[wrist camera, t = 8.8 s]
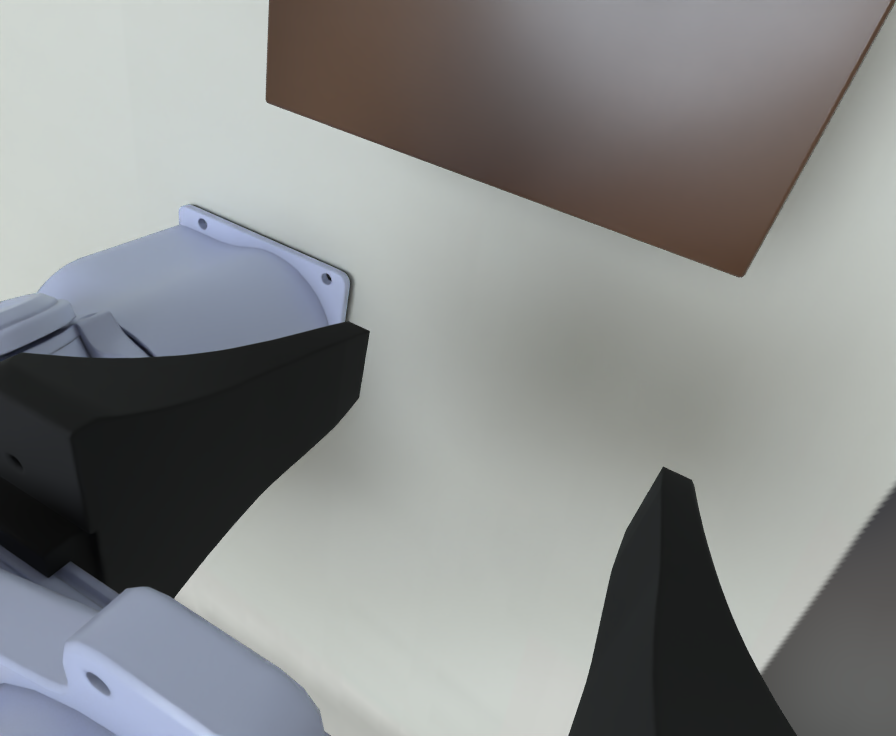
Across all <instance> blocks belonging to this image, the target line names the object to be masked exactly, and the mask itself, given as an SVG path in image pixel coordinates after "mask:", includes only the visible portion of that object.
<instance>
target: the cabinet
mask: <svg viewBox="0 0 896 736" xmlns="http://www.w3.org/2000/svg"><path fill="white" fill-rule="evenodd" d="M895 2H896V0H269V18H268V46H267V74H266V102H267V103H269V104H272V105H274V106H277V107H280V108H283V109H285V110H288V111H291V112H293V113H296V114H299V115H301V116H304V117H307V118H310V119H312V120H315V121H318V122H320V123H323V124H326V125H328V126H331V127H334V128H337V129H339V130H342V131H345V132H347V133H350V134H353V135H355V136H358V137H361V138H364V139H366V140H369V141H372V142H374V143H377V144H380V145H382V146H385V147H388V148H391V149H393V150H396V151H399V152H401V153H404V154H407V155H409V156H412V157H415V158H418V159H420V160H423V161H426V162H428V163H431V164H434V165H436V166H439V167H442V168H445V169H447V170H450V171H453V172H455V173H458V174H461V175H463V176H466V177H469V178H472V179H474V180H477V181H480V182H482V183H485V184H488V185H490V186H493V187H496V188H499V189H501V190H504V191H507V192H509V193H512V194H515V195H518V196H520V197H523V198H526V199H528V200H531V201H534V202H536V203H539V204H542V205H545V206H547V207H550V208H553V209H555V210H558V211H561V212H563V213H566V214H569V215H572V216H574V217H577V218H580V219H582V220H585V221H588V222H590V223H593V224H596V225H599V226H601V227H604V228H607V229H609V230H612V231H615V232H617V233H620V234H623V235H626V236H628V237H631V238H634V239H636V240H639V241H642V242H644V243H647V244H650V245H653V246H655V247H658V248H661V249H663V250H666V251H669V252H671V253H674V254H677V255H680V256H682V257H685V258H688V259H690V260H693V261H696V262H698V263H701V264H704V265H707V266H709V267H712V268H715V269H717V270H720V271H723V272H725V273H728V274H731V275H734V276H736V277H743V276H744V275H745V274H746V272H747V270H748V269H749V267H750V265H751V263H752V261H753V259H754V258H755V256H756V254H757V252H758V250H759V249H760V247H761V245H762V243H763V241H764V240H765V238H766V236H767V234H768V232H769V230H770V229H771V227H772V225H773V223H774V221H775V220H776V218H777V216H778V214H779V212H780V211H781V209H782V207H783V205H784V203H785V202H786V200H787V198H788V196H789V194H790V192H791V191H792V189H793V187H794V185H795V183H796V182H797V180H798V178H799V176H800V174H801V173H802V171H803V169H804V167H805V165H806V164H807V162H808V160H809V158H810V156H811V154H812V153H813V151H814V149H815V147H816V145H817V144H818V142H819V140H820V138H821V136H822V135H823V133H824V131H825V129H826V127H827V125H828V124H829V122H830V120H831V118H832V116H833V115H834V113H835V111H836V109H837V107H838V106H839V104H840V102H841V100H842V98H843V97H844V95H845V93H846V91H847V89H848V87H849V86H850V84H851V82H852V80H853V78H854V77H855V75H856V73H857V71H858V69H859V68H860V66H861V64H862V62H863V60H864V59H865V57H866V55H867V53H868V51H869V49H870V48H871V46H872V44H873V42H874V40H875V39H876V37H877V35H878V33H879V31H880V30H881V28H882V26H883V24H884V22H885V20H886V19H887V17H888V15H889V13H890V11H891V10H892V8H893V6H894V4H895Z"/></svg>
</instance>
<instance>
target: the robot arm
mask: <svg viewBox="0 0 896 736" xmlns="http://www.w3.org/2000/svg"><path fill="white" fill-rule="evenodd" d="M205 221H206V223H207V225H206V223H205ZM327 274H328V275H329V276H330V277H331V281H332V282H331V281H330V280H329V279H328V278H327ZM349 288H350V280H349V278H348V276H347V275H346V273H344V272H343V271H341V270H339V269H337V268H334V267H332V266H330V265H328V264H325V263H323V262H321V261H318V260H316V259H314V258H312V257H309V256H307V255H305V254H303V253H300V252H298V251H296V250H293V249H291V248H289V247H287V246H284V245H282V244H280V243H277V242H275V241H273V240H271V239H268V238H266V237H264V236H261V235H259V234H257V233H255V232H252V231H250V230H248V229H246V228H243V227H241V226H239V225H236V224H234V223H232V222H230V221H227V220H225V219H223V218H220V217H218V216H216V215H214V214H211V213H209V212H207V211H204V210H202V209H200V208H198V207H195V206H193V205H190V204H187V205H184V206H181V207H180V209H179V225H177V226H174V227H171V228H168V229H165V230H162V231H159V232H156V233H153V234H150V235H147V236H144V237H141V238H138V239H135V240H133V241H130V242H127V243H124V244H121V245H118V246H115V247H112V248H109V249H106V250H103V251H100V252H97V253H94V254H91V255H88V256H85V257H82V258H79V259H77V260H75V261H73V262H71V263H69V264H67V265H65V266H64V267H62V268H61V269H59V270H58V271H57V272H56V273H54V274H53V275H52V276H51V277H50V278H49V279H48V280H47V281H46V282H45V283H44V284H43V285H42V287H41V288H40V289H39V290H38V292H37V293H34V294H28V295H24V296H19V297H15V298H12V299H8V300H4V301H1V302H0V736H331V735H329V734H328V733H326V732H325V731H324V727H323V723H322V718H321V713H320V710H319V709H318V707H317V706H316V704H315V703H314V702H313V700H312V699H311V697H310V696H309V695H308V693H307V692H306V691H305V689H304V688H303V687H302V686H301V685H299V684H298V683H297V682H296V681H295V680H293V679H292V678H291V677H290V676H289V675H287V674H286V673H285V672H284V671H283V670H281V669H280V668H279V667H277V666H276V665H274V664H273V663H271V662H270V661H268V660H266V659H265V658H263V657H262V656H260V655H259V654H257V653H256V652H254V651H253V650H251V649H250V648H248V647H247V646H245V645H243V644H242V643H240V642H239V641H237V640H236V639H234V638H233V637H231V636H230V635H228V634H227V633H225V632H224V631H222V630H220V629H219V628H217V627H216V626H214V625H213V624H211V623H210V622H208V621H207V620H205V619H204V618H202V617H201V616H199V615H197V614H196V613H194V612H193V611H191V610H190V609H188V608H187V607H185V606H184V605H182V604H181V603H179V602H178V601H176V600H174V598H175V596H176V595H177V594H178V592H179V591H180V590H181V588H182V587H183V586H184V585H185V583H186V582H187V581H188V580H189V578H190V577H191V576H192V575H193V573H194V572H195V571H196V570H197V568H198V567H199V566H200V565H201V563H202V562H203V561H204V559H205V558H206V557H207V556H208V555H209V553H210V552H211V551H212V550H213V549H214V547H215V546H216V545H217V544H218V543H219V542H220V540H221V539H222V538H223V537H224V536H225V534H226V533H227V532H228V531H229V530H230V529H231V527H232V526H233V525H234V524H235V523H236V522H237V521H238V519H239V518H240V517H241V516H242V515H243V514H244V513H245V512H246V510H247V509H248V508H249V507H250V506H251V505H252V504H253V503H254V502H255V500H256V499H257V498H258V497H259V496H260V495H261V494H262V493H263V492H264V491H265V490H266V489H267V488H268V487H269V486H270V485H271V484H272V483H273V482H274V481H276V480H277V479H278V478H279V477H280V476H281V475H282V474H283V473H284V472H286V471H287V470H288V469H289V468H290V467H291V466H292V465H293V464H295V463H296V462H297V461H298V460H299V459H300V458H301V457H302V456H303V455H305V454H306V453H307V452H308V451H309V450H310V449H311V448H312V447H314V446H315V445H316V444H317V443H318V442H319V441H320V440H321V439H322V438H323V437H324V436H326V435H327V434H328V433H329V432H330V431H331V430H332V429H333V428H334V427H335V426H336V425H337V424H338V423H339V421H340V420H341V419H342V418H343V417H344V416H345V414H346V413H347V412H348V411H349V410H350V408H351V407H352V406H353V405H354V403H355V402H356V401H357V400H358V398H359V394H360V388H361V382H362V376H363V370H364V364H365V357H366V351H367V345H368V339H369V333H370V331H368V330H366V329H364V328H362V327H359V326H357V325H355V324H353V323H351V322H349V321H348V322H345V318H346V311H347V303H348V296H349ZM568 736H797V735H796V733H795V732H794V730H793V729H792V727H791V726H790V724H789V723H788V721H787V719H786V718H785V716H784V714H783V713H782V711H781V710H780V708H779V706H778V705H777V703H776V701H775V700H774V698H773V696H772V694H771V692H770V691H769V689H768V687H767V685H766V684H765V682H764V680H763V678H762V676H761V675H760V673H759V671H758V669H757V667H756V665H755V663H754V662H753V660H752V658H751V656H750V654H749V652H748V650H747V648H746V646H745V643H744V641H743V639H742V637H741V635H740V633H739V631H738V628H737V626H736V624H735V621H734V619H733V617H732V614H731V612H730V609H729V607H728V604H727V602H726V599H725V596H724V593H723V591H722V588H721V585H720V582H719V579H718V576H717V573H716V570H715V567H714V564H713V561H712V557H711V554H710V551H709V547H708V544H707V540H706V536H705V533H704V529H703V525H702V520H701V516H700V512H699V507H698V503H697V498H696V492H695V487H694V484H693V482H692V480H691V479H689V478H686V477H684V476H682V475H680V474H678V473H676V472H673V471H671V470H669V469H667V468H665V467H663V468H662V469H661V471H660V473H659V475H658V476H657V478H656V480H655V481H654V483H653V485H652V487H651V488H650V490H649V492H648V493H647V495H646V497H645V499H644V500H643V502H642V504H641V505H640V507H639V509H638V511H637V512H636V514H635V516H634V517H633V519H632V521H631V523H630V524H629V526H628V528H627V529H626V532H625V534H624V537H623V540H622V543H621V545H620V548H619V551H618V554H617V556H616V559H615V562H614V565H613V568H612V571H611V576H610V580H609V584H608V589H607V593H606V598H605V602H604V607H603V612H602V616H601V621H600V626H599V630H598V635H597V639H596V644H595V649H594V653H593V658H592V662H591V666H590V670H589V674H588V677H587V681H586V685H585V688H584V691H583V694H582V697H581V700H580V703H579V706H578V709H577V712H576V715H575V718H574V721H573V724H572V727H571V730H570V733H569V735H568Z"/></svg>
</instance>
